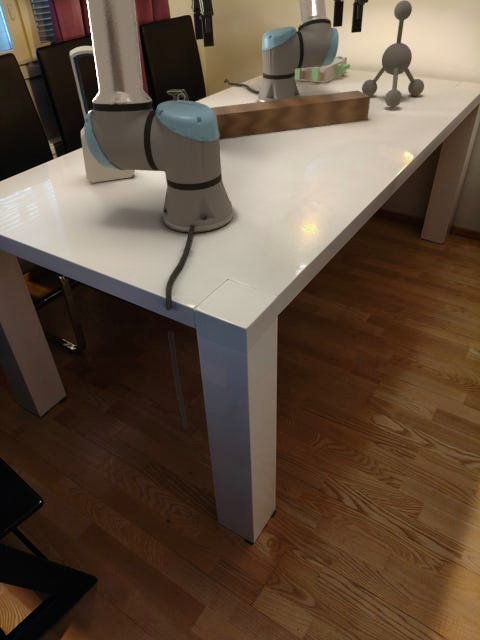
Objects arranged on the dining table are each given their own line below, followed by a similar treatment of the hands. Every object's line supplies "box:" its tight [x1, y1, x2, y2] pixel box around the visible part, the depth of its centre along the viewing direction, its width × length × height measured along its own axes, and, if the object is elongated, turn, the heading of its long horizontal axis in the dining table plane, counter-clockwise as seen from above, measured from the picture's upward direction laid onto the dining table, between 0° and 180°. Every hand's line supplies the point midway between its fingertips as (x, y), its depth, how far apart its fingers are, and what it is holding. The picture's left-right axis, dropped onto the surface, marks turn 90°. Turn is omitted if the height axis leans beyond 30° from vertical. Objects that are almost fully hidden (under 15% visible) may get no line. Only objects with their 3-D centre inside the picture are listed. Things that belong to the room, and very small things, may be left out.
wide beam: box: [210, 90, 371, 140], centre depth 154 cm, size 59×9×7 cm, turn 104°
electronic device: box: [69, 45, 136, 184], centre depth 120 cm, size 12×8×30 cm, turn 105°
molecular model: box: [361, 0, 425, 108], centre depth 166 cm, size 24×22×30 cm
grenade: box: [166, 89, 190, 101], centre depth 162 cm, size 7×6×10 cm
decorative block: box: [295, 55, 351, 84], centre depth 207 cm, size 26×6×20 cm
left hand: (204, 42), depth 137 cm, fingers open, 13 cm apart
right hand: (346, 29), depth 144 cm, fingers open, 13 cm apart
